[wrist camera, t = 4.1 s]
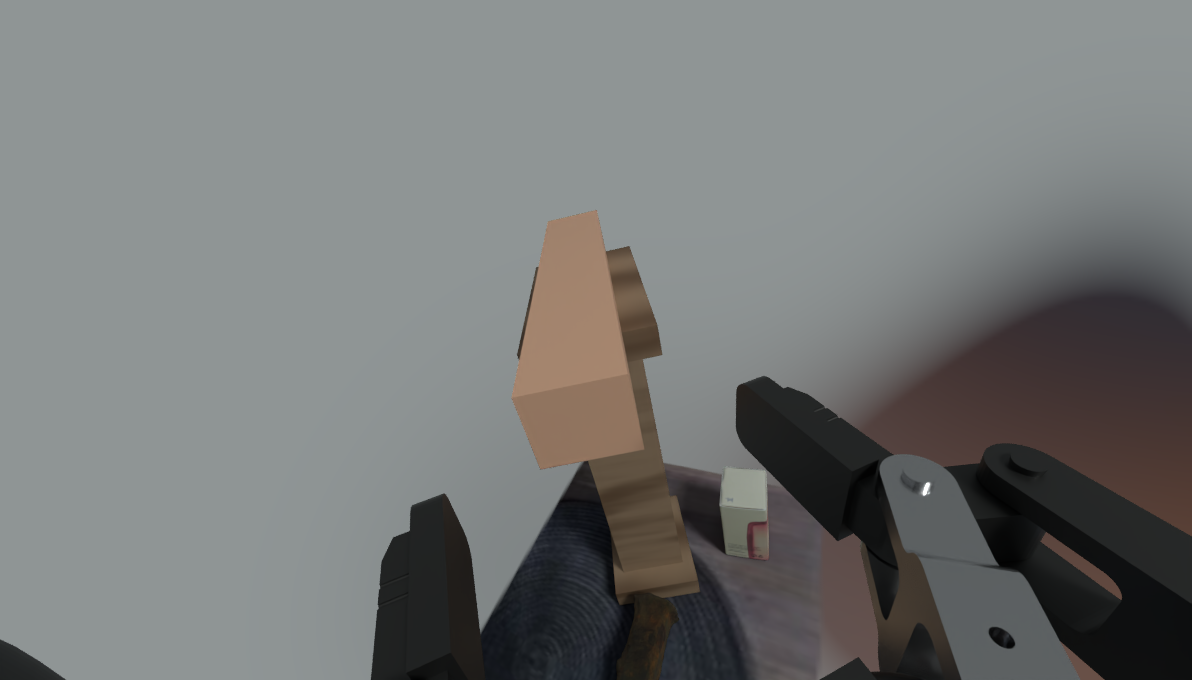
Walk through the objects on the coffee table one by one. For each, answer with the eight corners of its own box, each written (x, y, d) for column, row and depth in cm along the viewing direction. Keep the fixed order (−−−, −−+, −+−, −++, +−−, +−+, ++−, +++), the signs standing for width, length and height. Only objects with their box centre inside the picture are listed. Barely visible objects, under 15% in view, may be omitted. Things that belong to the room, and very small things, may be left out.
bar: (644, 449, 16) (627, 373, 14) (540, 469, 16) (511, 397, 15) (605, 251, 36) (596, 209, 34) (559, 262, 36) (548, 221, 34)
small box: (769, 562, 43) (767, 511, 39) (724, 555, 45) (718, 505, 41) (768, 518, 47) (767, 468, 43) (727, 513, 49) (722, 464, 45)
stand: (708, 624, 39) (657, 324, 24) (622, 638, 40) (517, 354, 24) (676, 499, 52) (629, 246, 36) (611, 511, 52) (536, 267, 36)
